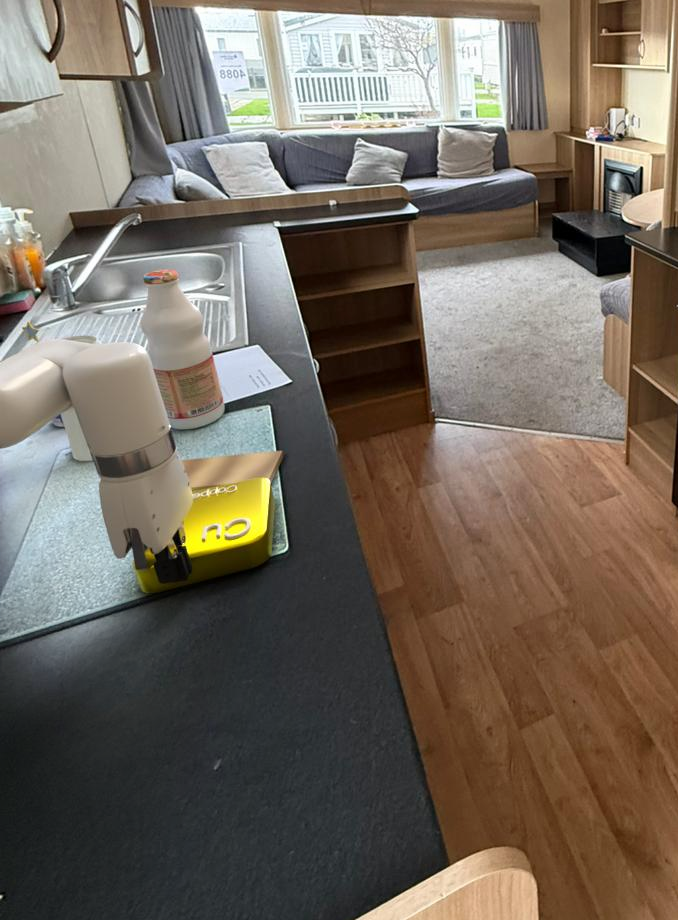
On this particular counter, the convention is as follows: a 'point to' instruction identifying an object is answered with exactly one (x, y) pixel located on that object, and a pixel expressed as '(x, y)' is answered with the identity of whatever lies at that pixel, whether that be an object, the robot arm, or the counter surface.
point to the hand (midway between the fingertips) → (176, 577)
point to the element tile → (223, 533)
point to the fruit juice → (180, 354)
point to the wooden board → (231, 469)
